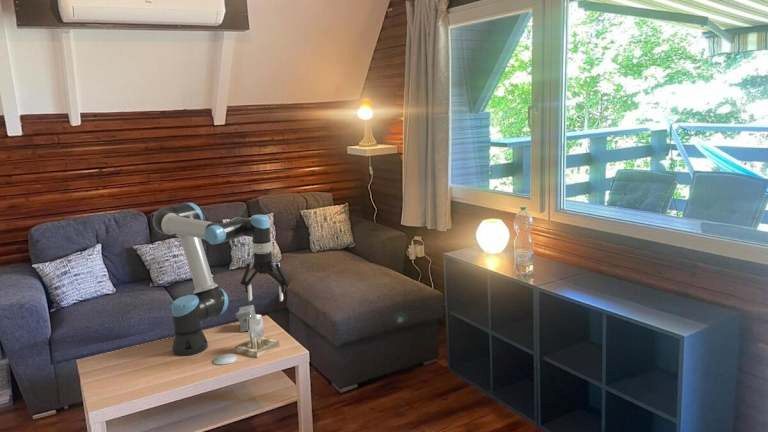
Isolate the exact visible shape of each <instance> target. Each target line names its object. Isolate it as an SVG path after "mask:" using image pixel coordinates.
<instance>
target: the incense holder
mask: <svg viewBox="0 0 768 432" xmlns="http://www.w3.org/2000/svg"><path fill="white" fill-rule="evenodd" d="M255 310H256V309H255V306H254V304H251V305H246V306H243V307H242V306H241V307H238V312H236V313H235V318H236V319H237V320H238V321H239V326H240V327H239V330H240V333H244V332H248V328H247V317H248V316H250V315H254V314H257V313H256V311H255Z"/></svg>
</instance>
